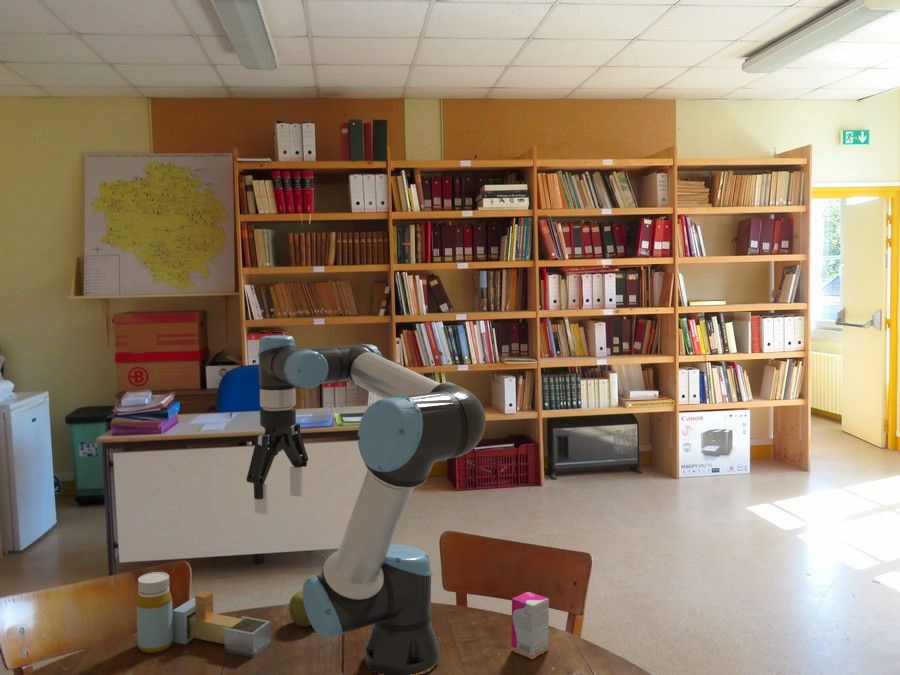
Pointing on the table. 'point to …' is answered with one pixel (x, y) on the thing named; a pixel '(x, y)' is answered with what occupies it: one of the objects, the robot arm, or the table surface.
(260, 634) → the sleeve
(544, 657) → the table surface
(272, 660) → the table surface
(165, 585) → the bottle
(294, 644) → the table surface
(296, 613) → the apple
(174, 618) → the socket block
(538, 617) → the supplement box
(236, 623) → the yellow orange l-shaped block
